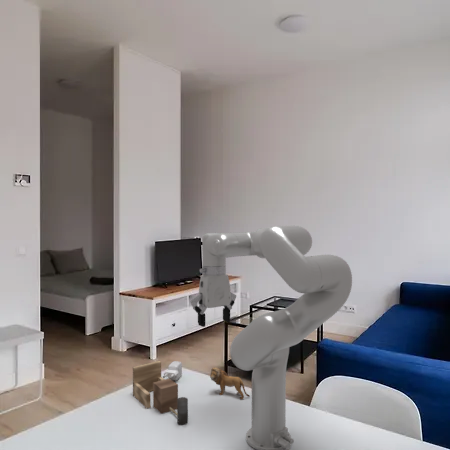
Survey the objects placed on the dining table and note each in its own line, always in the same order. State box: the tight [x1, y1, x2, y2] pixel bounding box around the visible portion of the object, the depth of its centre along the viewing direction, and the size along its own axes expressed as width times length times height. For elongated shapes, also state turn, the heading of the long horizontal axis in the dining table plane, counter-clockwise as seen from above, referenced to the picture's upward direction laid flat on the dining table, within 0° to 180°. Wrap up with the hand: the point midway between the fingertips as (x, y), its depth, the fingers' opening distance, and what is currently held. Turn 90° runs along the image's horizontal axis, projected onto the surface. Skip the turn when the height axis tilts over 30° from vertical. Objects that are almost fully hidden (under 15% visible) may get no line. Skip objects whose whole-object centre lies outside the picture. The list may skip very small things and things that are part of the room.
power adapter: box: [162, 360, 183, 382], centre depth 154 cm, size 11×5×6 cm, turn 165°
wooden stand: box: [132, 360, 166, 409], centre depth 139 cm, size 12×10×10 cm
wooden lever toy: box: [152, 378, 189, 426], centre depth 128 cm, size 16×6×8 cm, turn 35°
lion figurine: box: [209, 367, 251, 400], centre depth 142 cm, size 15×5×9 cm, turn 71°
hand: (214, 323), depth 131 cm, fingers open, 9 cm apart
